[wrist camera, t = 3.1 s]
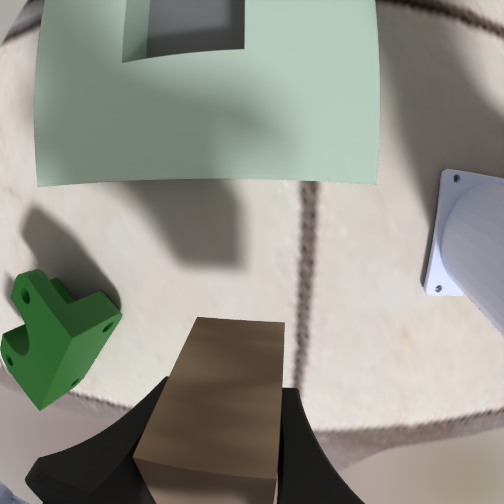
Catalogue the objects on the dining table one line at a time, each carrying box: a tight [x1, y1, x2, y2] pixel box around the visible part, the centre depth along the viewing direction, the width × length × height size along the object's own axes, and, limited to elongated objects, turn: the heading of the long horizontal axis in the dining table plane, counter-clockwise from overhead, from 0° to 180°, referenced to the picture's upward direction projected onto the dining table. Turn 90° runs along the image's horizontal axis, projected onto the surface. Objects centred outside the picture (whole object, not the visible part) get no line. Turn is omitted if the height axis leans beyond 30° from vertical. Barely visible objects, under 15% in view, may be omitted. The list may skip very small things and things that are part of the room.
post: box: [133, 317, 285, 504], centre depth 12 cm, size 4×4×8 cm
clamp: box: [0, 269, 122, 411], centre depth 20 cm, size 12×6×9 cm, turn 136°
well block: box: [34, 0, 380, 187], centre depth 13 cm, size 18×18×4 cm
